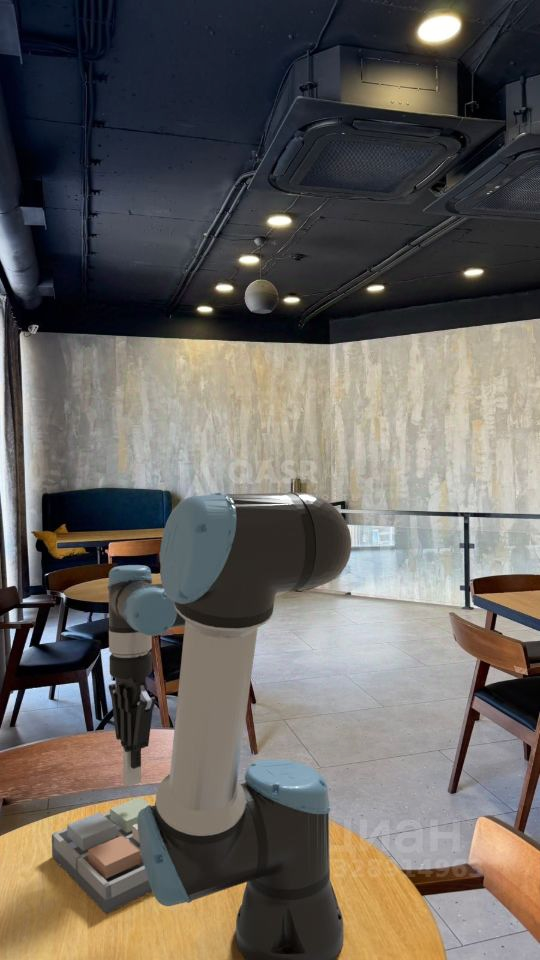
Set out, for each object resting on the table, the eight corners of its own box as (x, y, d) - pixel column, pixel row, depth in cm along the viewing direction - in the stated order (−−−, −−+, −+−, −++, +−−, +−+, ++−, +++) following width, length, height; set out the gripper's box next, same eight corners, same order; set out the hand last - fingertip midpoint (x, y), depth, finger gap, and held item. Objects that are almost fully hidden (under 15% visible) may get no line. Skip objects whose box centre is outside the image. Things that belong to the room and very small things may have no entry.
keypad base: (199, 867, 106) (199, 843, 106) (106, 914, 94) (105, 887, 94) (139, 821, 121) (138, 800, 121) (52, 857, 109) (51, 833, 109)
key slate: (116, 837, 108) (115, 825, 108) (82, 851, 104) (82, 838, 104) (99, 823, 112) (99, 812, 112) (67, 836, 108) (67, 824, 108)
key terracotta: (140, 863, 102) (139, 850, 102) (105, 878, 98) (105, 865, 98) (121, 847, 106) (121, 835, 106) (88, 862, 102) (88, 849, 102)
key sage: (156, 820, 113) (156, 809, 113) (126, 832, 109) (126, 821, 109) (139, 807, 117) (139, 797, 117) (110, 819, 113) (110, 808, 113)
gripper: (168, 655, 111) (169, 789, 111) (131, 641, 121) (132, 765, 121) (130, 663, 106) (131, 804, 106) (94, 649, 116) (96, 777, 116)
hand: (132, 783), depth 114 cm, fingers closed
